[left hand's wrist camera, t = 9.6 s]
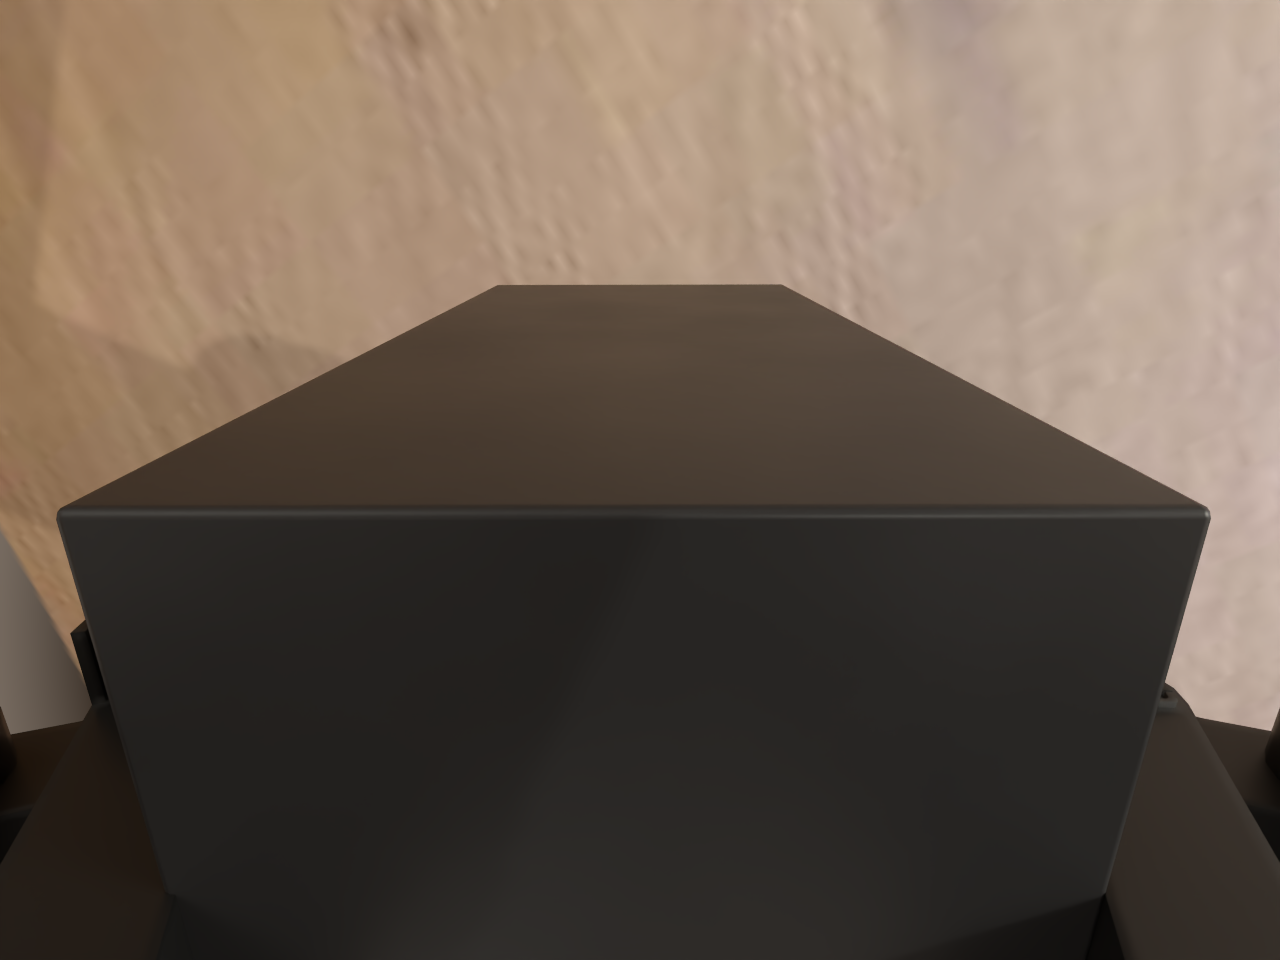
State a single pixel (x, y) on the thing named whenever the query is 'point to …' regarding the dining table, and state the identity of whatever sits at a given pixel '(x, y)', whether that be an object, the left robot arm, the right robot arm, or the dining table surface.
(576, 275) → the dining table surface
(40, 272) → the dining table surface
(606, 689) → the box
